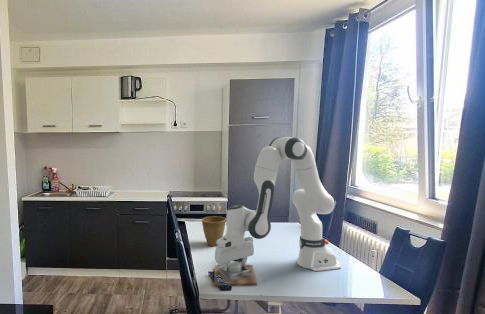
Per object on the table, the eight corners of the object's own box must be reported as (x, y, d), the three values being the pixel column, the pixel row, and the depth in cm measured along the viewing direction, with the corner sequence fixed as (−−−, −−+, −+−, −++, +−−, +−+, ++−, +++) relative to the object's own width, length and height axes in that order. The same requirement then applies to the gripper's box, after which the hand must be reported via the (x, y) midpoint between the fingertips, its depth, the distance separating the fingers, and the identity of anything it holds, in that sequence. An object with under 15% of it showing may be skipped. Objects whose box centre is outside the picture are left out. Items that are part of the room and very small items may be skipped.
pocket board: (252, 267, 148) (252, 260, 148) (256, 285, 129) (257, 277, 129) (214, 267, 147) (215, 260, 147) (214, 286, 128) (214, 278, 128)
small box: (230, 270, 141) (230, 260, 141) (241, 271, 140) (242, 261, 140) (227, 275, 136) (227, 265, 136) (238, 277, 134) (239, 266, 134)
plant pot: (227, 240, 188) (227, 216, 187) (223, 249, 173) (223, 222, 172) (204, 239, 189) (204, 215, 188) (198, 247, 174) (199, 221, 174)
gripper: (249, 234, 146) (248, 261, 146) (213, 241, 134) (212, 270, 135) (256, 237, 140) (256, 265, 141) (220, 245, 129) (219, 275, 130)
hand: (234, 268), depth 138 cm, fingers open, 8 cm apart
